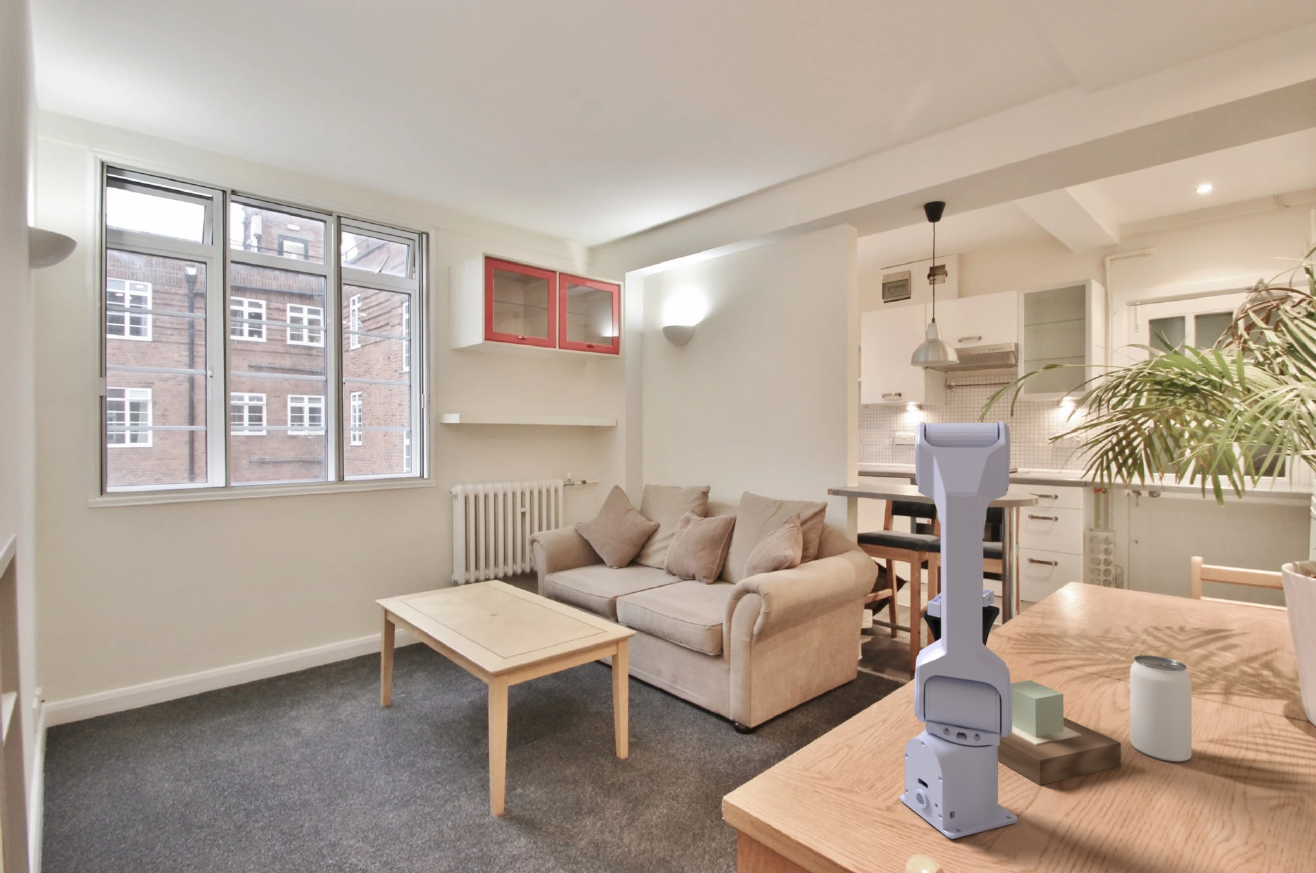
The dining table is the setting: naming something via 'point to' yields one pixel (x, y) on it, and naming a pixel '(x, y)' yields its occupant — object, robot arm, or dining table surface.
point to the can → (1160, 708)
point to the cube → (1036, 708)
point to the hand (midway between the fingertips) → (962, 657)
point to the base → (1059, 753)
